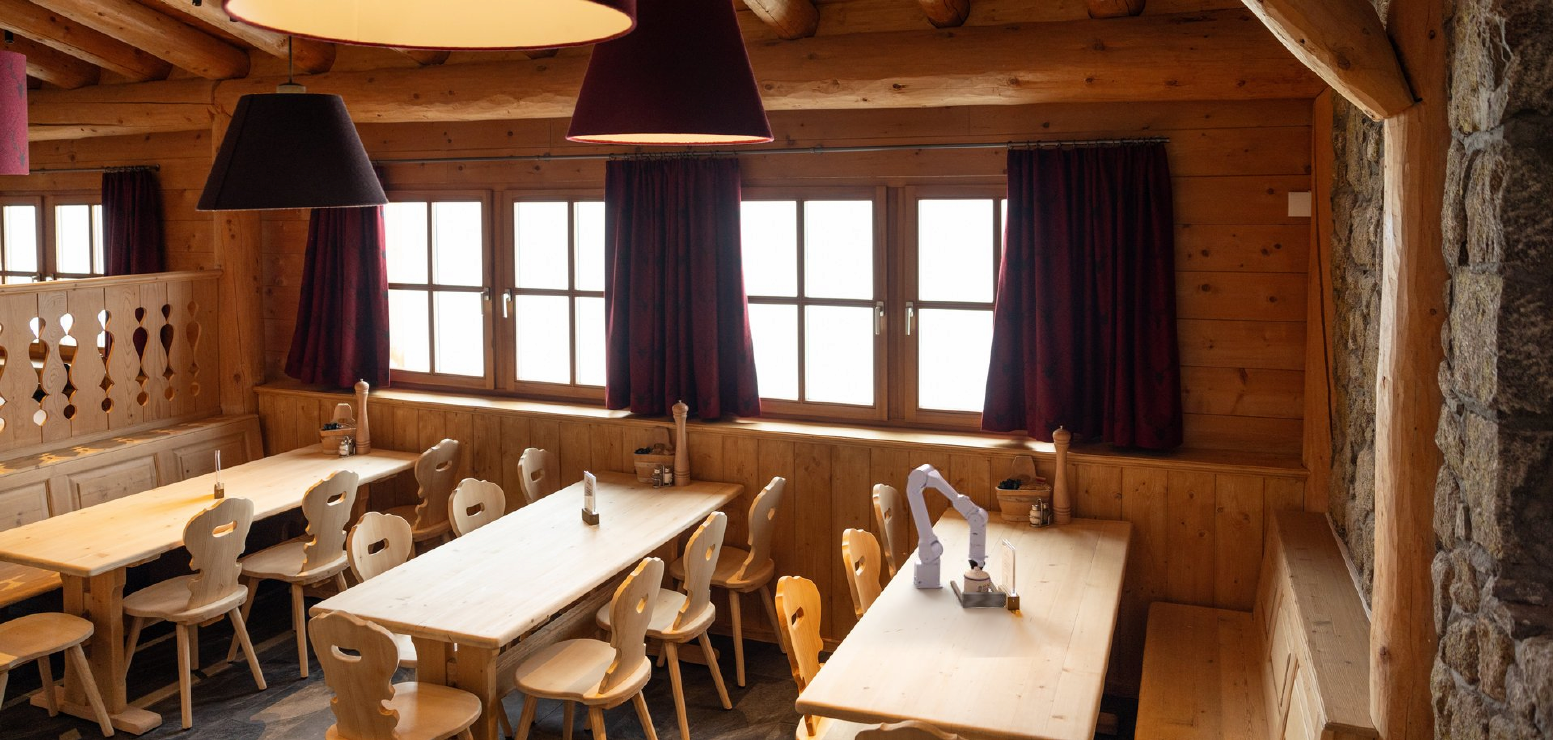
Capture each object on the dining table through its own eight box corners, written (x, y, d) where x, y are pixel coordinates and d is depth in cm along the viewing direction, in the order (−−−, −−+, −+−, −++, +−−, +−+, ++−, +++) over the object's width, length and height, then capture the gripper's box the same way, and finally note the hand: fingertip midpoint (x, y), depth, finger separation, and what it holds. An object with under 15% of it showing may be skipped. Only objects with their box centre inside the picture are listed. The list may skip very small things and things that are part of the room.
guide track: (963, 607, 411) (963, 594, 410) (950, 584, 435) (950, 571, 434) (1006, 607, 411) (1006, 593, 411) (990, 584, 435) (991, 571, 434)
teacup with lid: (977, 605, 414) (978, 573, 412) (957, 598, 420) (958, 566, 419) (999, 597, 421) (1000, 566, 419) (979, 590, 428) (980, 559, 426)
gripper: (993, 549, 416) (991, 586, 418) (984, 537, 430) (983, 573, 432) (973, 549, 416) (971, 586, 418) (964, 537, 430) (963, 573, 432)
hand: (976, 579), depth 425 cm, fingers closed
